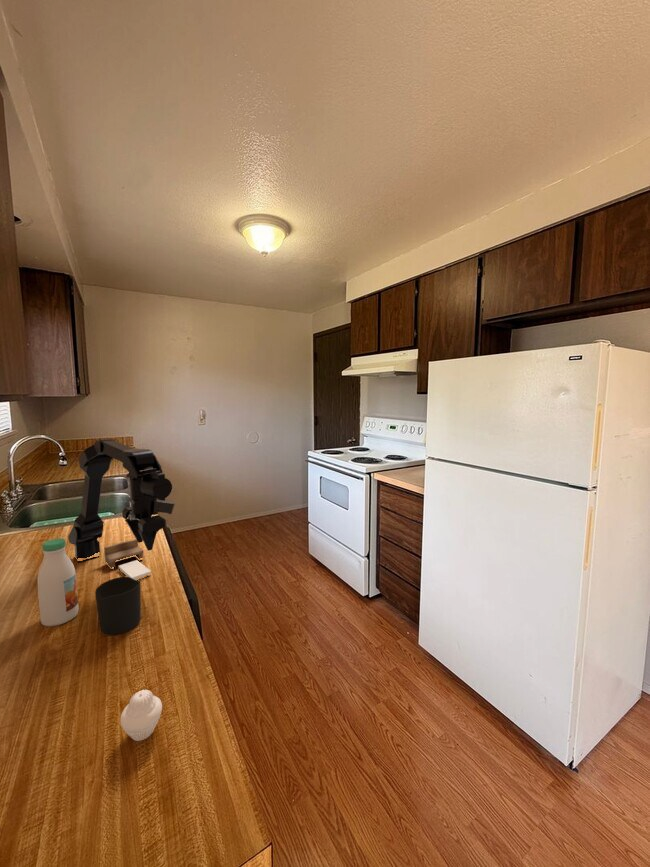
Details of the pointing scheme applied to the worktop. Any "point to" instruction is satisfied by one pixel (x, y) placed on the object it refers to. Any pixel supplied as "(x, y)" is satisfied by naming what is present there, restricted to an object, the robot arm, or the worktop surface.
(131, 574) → the tile
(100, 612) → the pen holder
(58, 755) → the worktop surface
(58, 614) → the milk bottle
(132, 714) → the white rounded lump
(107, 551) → the l-shaped bracket
